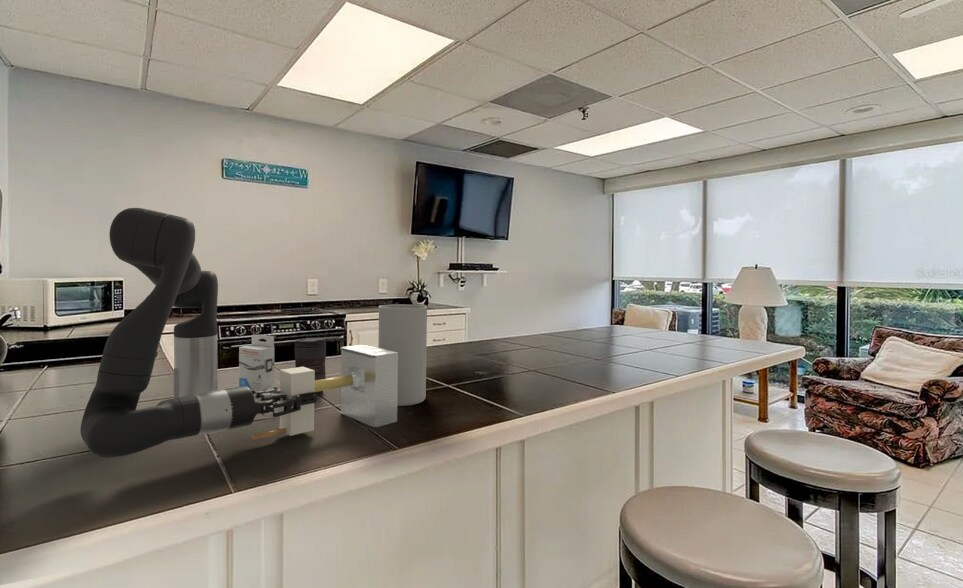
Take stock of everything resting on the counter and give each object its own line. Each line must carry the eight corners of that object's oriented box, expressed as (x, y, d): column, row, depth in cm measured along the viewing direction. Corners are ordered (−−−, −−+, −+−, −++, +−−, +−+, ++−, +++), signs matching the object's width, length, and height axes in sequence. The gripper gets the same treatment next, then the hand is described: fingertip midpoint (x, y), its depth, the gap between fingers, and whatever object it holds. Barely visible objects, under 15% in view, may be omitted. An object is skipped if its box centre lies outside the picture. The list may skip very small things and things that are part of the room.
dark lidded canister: (330, 390, 135) (330, 337, 135) (318, 397, 127) (318, 342, 127) (303, 388, 136) (303, 336, 135) (289, 396, 128) (289, 340, 127)
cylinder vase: (368, 399, 127) (369, 305, 125) (405, 391, 136) (407, 303, 135) (397, 410, 118) (398, 309, 117) (435, 400, 127) (436, 307, 126)
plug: (257, 443, 91) (257, 378, 90) (247, 436, 94) (247, 374, 94) (356, 419, 107) (356, 364, 106) (344, 414, 110) (344, 360, 109)
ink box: (238, 388, 136) (237, 336, 135) (251, 384, 140) (251, 334, 139) (262, 391, 133) (261, 338, 132) (275, 387, 137) (275, 336, 137)
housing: (372, 428, 105) (373, 355, 104) (338, 413, 114) (339, 347, 113) (397, 421, 110) (397, 352, 109) (362, 408, 119) (363, 344, 118)
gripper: (237, 397, 83) (326, 382, 96) (209, 382, 93) (293, 370, 106) (237, 440, 84) (326, 419, 96) (209, 420, 94) (293, 404, 106)
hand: (308, 394), depth 101 cm, fingers closed on plug, 5 cm apart
